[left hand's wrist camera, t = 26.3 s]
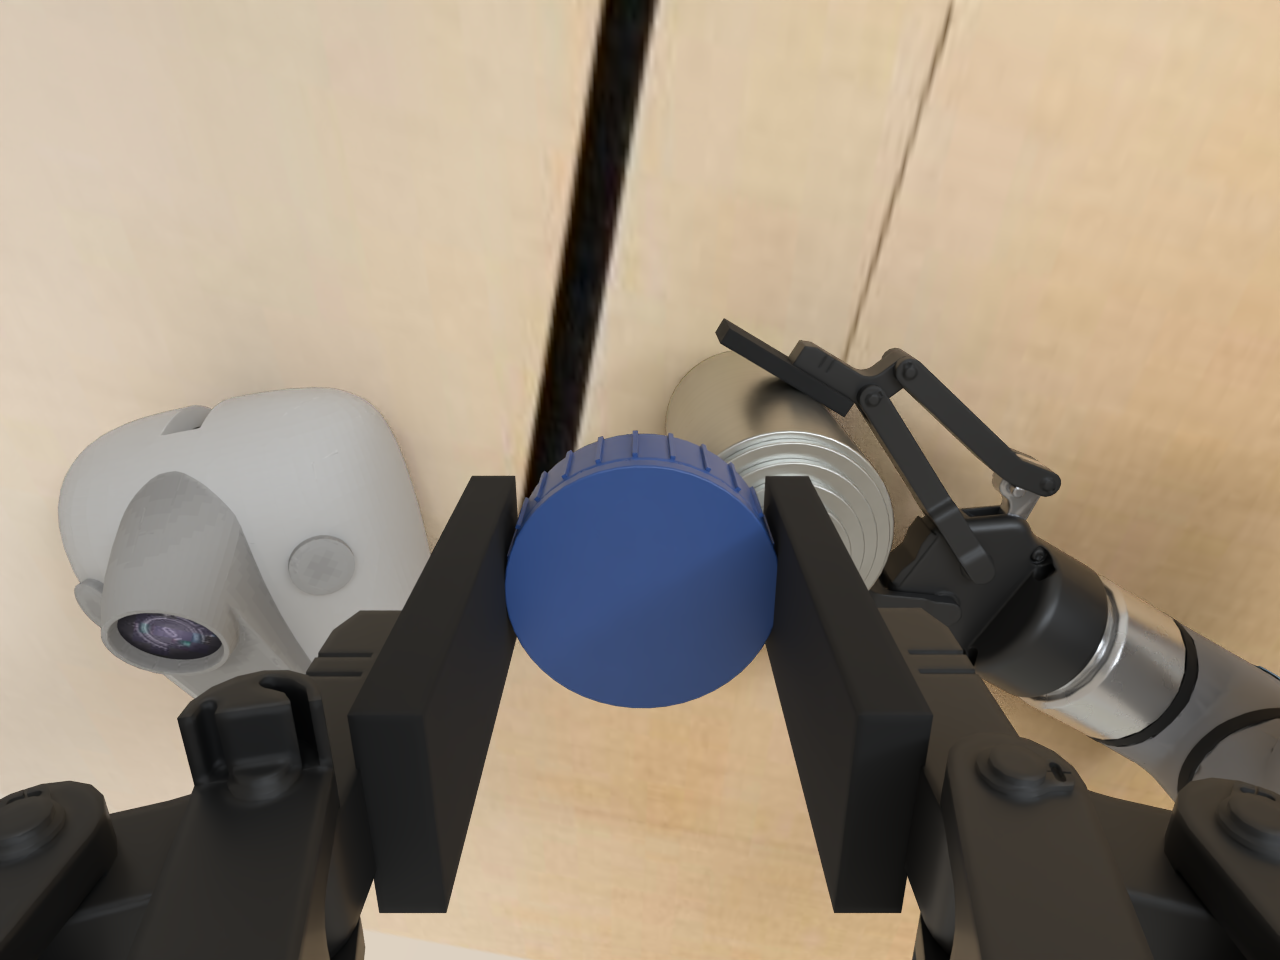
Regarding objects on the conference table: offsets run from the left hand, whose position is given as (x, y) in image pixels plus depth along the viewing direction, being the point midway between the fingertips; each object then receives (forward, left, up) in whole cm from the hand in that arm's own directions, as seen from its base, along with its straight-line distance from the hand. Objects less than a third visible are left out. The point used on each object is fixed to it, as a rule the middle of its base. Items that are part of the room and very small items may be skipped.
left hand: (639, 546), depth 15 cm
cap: (0, 0, +1) cm, 1 cm away
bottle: (+8, 0, -30) cm, 31 cm away
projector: (-1, -24, -30) cm, 38 cm away
